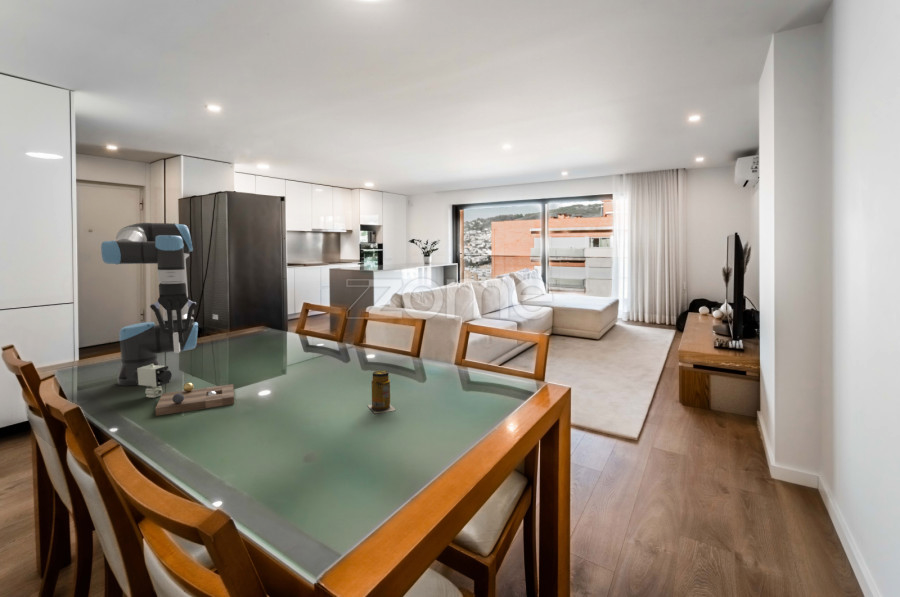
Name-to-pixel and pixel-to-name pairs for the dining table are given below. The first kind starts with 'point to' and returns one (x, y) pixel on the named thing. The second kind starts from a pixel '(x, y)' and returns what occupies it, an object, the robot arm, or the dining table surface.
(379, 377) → the condiment
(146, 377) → the pneumatic valve
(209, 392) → the steel ball
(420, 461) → the dining table surface
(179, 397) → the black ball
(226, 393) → the board
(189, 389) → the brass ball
